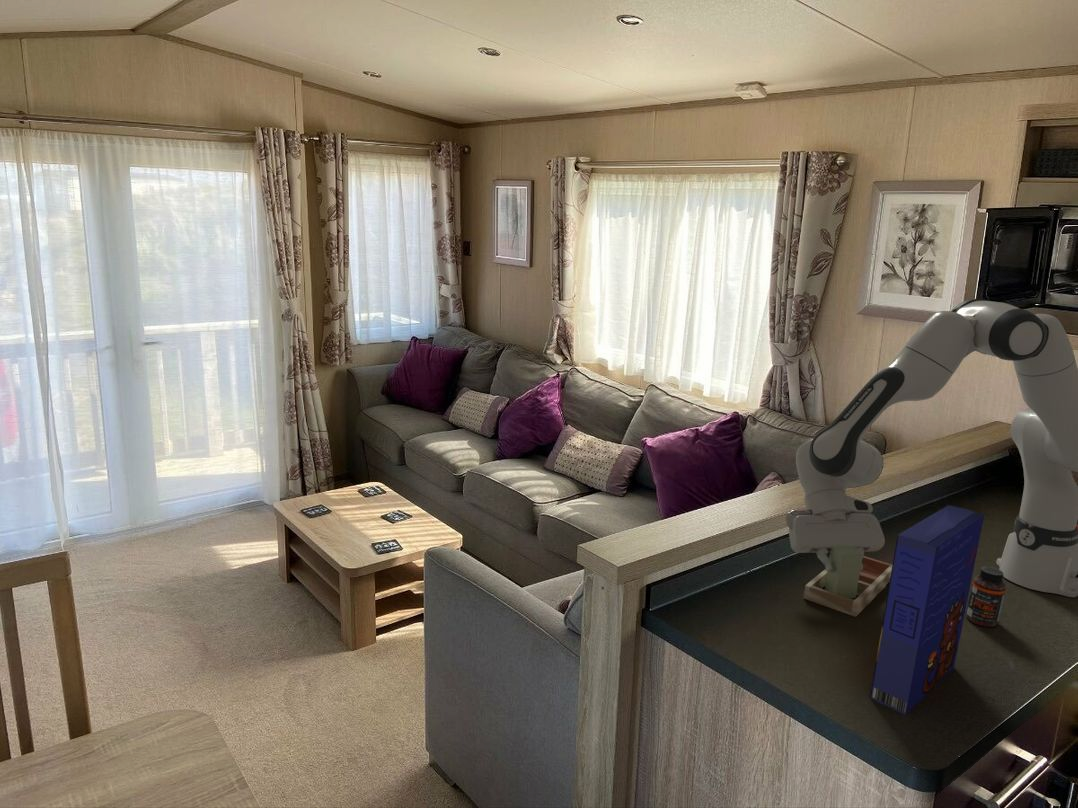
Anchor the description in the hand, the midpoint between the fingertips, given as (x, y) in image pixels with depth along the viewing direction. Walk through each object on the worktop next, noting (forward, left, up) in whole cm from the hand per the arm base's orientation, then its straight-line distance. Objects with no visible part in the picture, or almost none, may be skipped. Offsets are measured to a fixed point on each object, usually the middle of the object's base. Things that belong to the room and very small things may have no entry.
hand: (845, 570), depth 168 cm
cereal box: (+10, +28, -7) cm, 31 cm away
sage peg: (0, -1, -5) cm, 5 cm away
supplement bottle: (-22, +16, -7) cm, 28 cm away
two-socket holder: (-6, -4, -7) cm, 10 cm away
